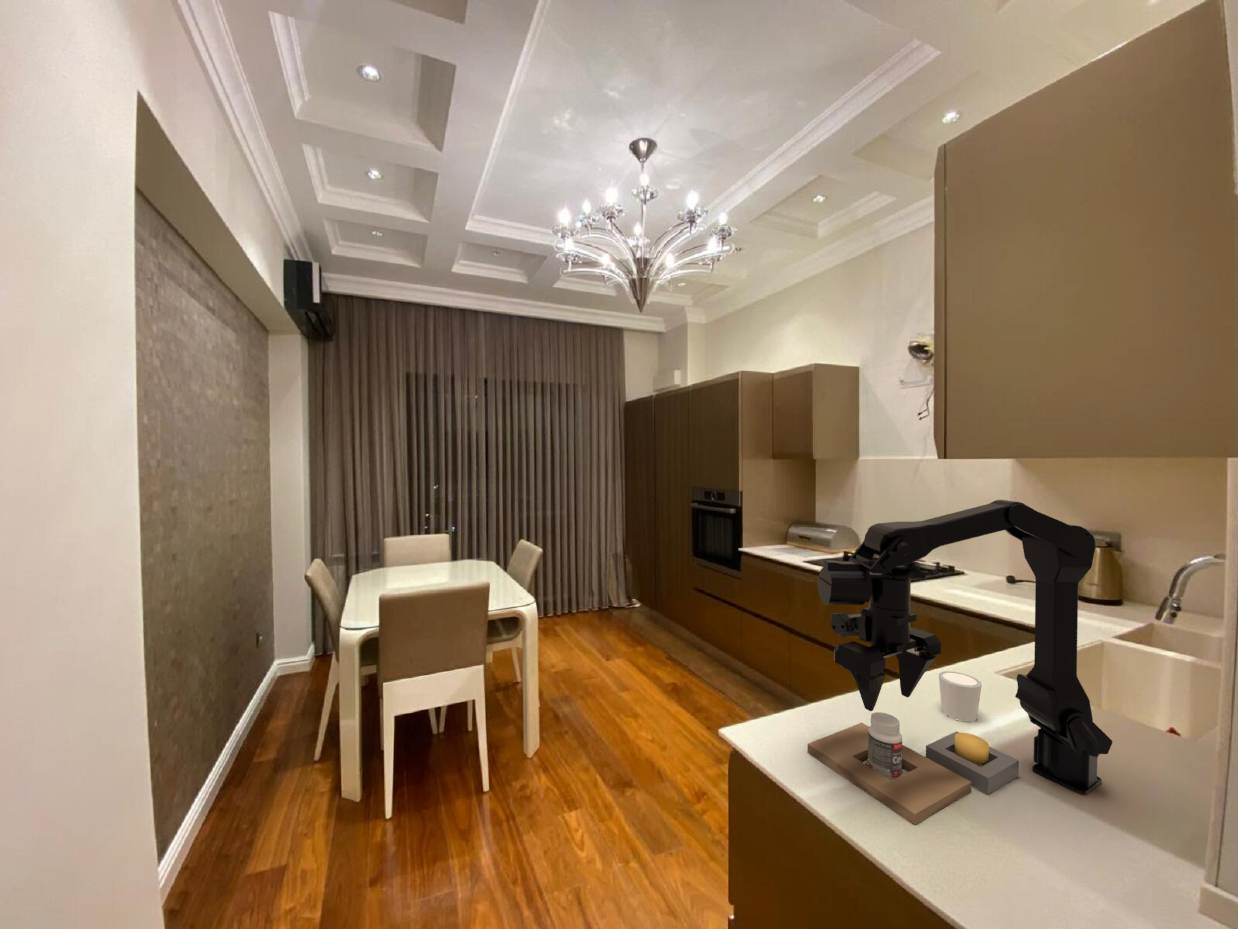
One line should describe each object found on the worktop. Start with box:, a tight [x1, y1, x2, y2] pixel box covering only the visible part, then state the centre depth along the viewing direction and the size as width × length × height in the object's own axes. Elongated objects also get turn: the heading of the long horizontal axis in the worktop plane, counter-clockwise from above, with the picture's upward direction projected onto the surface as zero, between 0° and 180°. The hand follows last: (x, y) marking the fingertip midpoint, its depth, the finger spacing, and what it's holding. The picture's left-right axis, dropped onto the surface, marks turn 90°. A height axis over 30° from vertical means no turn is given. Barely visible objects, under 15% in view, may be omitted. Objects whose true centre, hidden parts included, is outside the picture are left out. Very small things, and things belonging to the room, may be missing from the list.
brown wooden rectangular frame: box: [806, 722, 972, 826], centre depth 77 cm, size 18×14×2 cm
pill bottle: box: [867, 711, 903, 780], centre depth 77 cm, size 5×5×8 cm
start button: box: [955, 732, 990, 766], centre depth 78 cm, size 4×4×2 cm
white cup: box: [938, 670, 983, 723], centre depth 94 cm, size 7×7×7 cm
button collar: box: [925, 731, 1020, 796], centre depth 78 cm, size 9×9×2 cm
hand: (887, 702), depth 77 cm, fingers open, 9 cm apart
